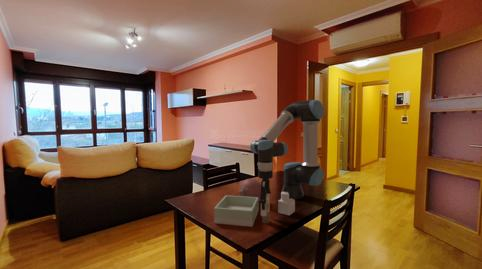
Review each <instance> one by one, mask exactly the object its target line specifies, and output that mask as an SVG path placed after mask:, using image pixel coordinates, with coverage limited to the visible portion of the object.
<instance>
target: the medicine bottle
mask: <svg viewBox="0 0 482 269" xmlns="http://www.w3.org/2000/svg"><path fill="white" fill-rule="evenodd" d="M295 210H296V199H292V193H291V192H290V191H282V190H281V192H280V199H278V200H277V213H278V214H281V215H286V216H291V215H292V214H293V213H295V212H296V211H295Z"/></svg>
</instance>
